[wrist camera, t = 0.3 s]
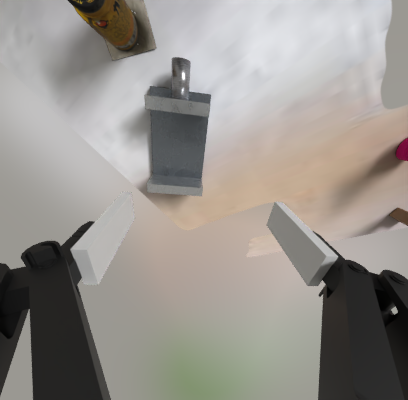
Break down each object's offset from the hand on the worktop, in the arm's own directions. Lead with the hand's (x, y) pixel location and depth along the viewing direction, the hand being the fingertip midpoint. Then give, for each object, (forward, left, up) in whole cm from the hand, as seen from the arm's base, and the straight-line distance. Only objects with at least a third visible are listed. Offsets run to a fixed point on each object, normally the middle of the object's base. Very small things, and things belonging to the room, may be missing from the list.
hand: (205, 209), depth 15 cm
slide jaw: (-12, -4, -25) cm, 28 cm away
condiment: (-20, -14, -27) cm, 36 cm away
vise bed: (-2, -4, -27) cm, 27 cm away
